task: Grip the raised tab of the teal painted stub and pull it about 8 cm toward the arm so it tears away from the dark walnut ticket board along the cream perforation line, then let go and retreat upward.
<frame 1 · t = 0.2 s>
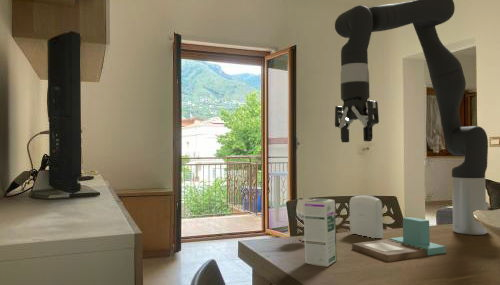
hand: (356, 141, 106), 28 cm above the table, tool pointing down, fingers open, 8 cm apart
stub: (416, 233, 103), point 4 cm above the table, slide at 0.0 cm
wineglass: (306, 241, 114), on the table
syrup box: (320, 263, 91), on the table
ticket board: (391, 252, 99), on the table
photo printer: (366, 237, 119), on the table
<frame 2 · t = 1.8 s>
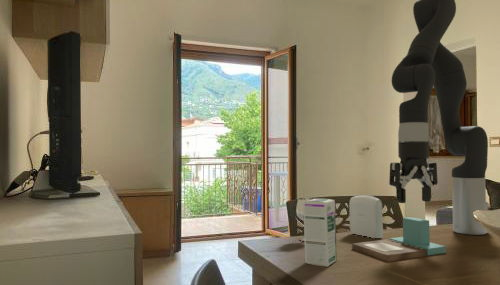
hand: (413, 202, 103), 12 cm above the table, tool pointing down, fingers open, 8 cm apart
nothing on the table moved.
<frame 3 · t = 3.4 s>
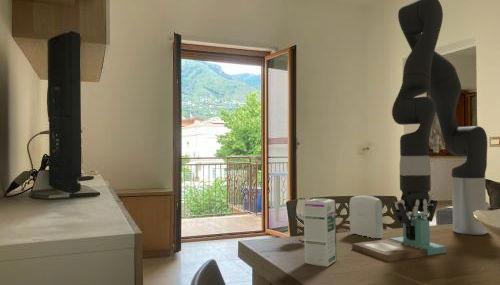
hand: (416, 238, 103), 3 cm above the table, tool pointing down, fingers closed on stub, 3 cm apart
stub: (416, 233, 103), point 4 cm above the table, slide at 0.0 cm, touching gripper
everything else where it was.
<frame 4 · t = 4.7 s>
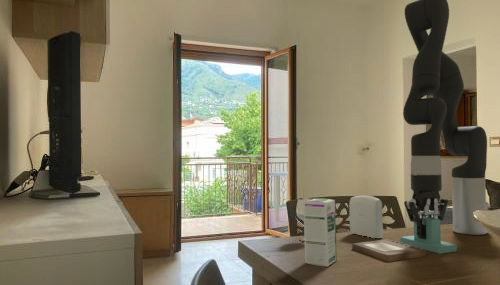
hand: (427, 237, 104), 3 cm above the table, tool pointing down, fingers closed on stub, 3 cm apart
stub: (427, 232, 104), point 4 cm above the table, slide at 3.9 cm, touching gripper
everything else where it was.
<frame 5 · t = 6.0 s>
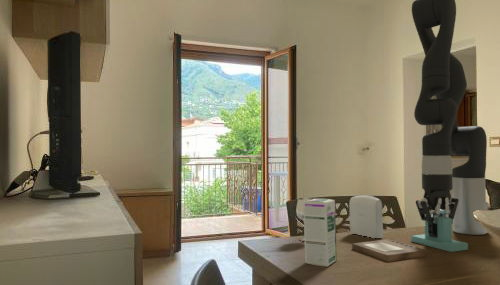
hand: (438, 236, 106), 3 cm above the table, tool pointing down, fingers closed on stub, 3 cm apart
stub: (438, 231, 106), point 4 cm above the table, slide at 7.9 cm, touching gripper
everything else where it was.
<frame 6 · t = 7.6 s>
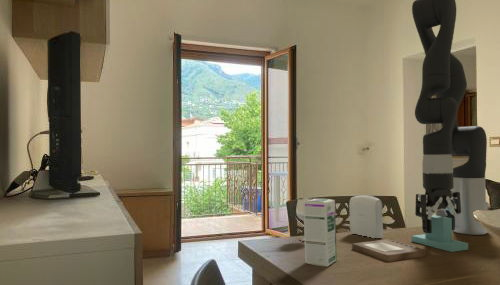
hand: (439, 231, 106), 4 cm above the table, tool pointing down, fingers open, 8 cm apart
stub: (438, 231, 106), point 4 cm above the table, slide at 8.0 cm
everything else where it was.
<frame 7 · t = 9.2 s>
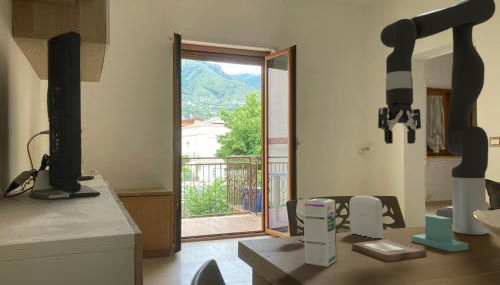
hand: (400, 143, 115), 28 cm above the table, tool pointing down, fingers open, 8 cm apart
nothing on the table moved.
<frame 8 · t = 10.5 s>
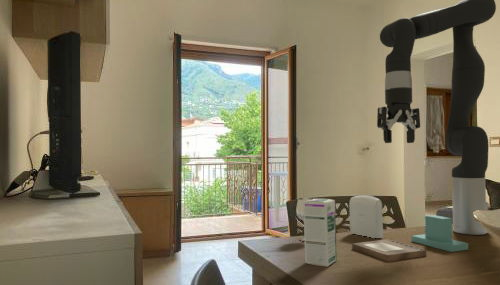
hand: (399, 142, 116), 28 cm above the table, tool pointing down, fingers open, 8 cm apart
nothing on the table moved.
at the end: stub slide at 8.0 cm; the gripper is holding nothing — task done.
